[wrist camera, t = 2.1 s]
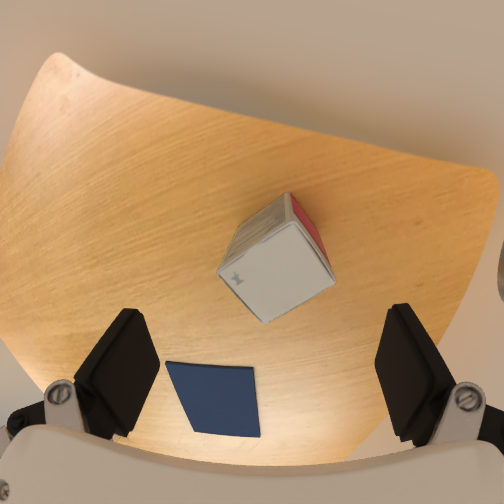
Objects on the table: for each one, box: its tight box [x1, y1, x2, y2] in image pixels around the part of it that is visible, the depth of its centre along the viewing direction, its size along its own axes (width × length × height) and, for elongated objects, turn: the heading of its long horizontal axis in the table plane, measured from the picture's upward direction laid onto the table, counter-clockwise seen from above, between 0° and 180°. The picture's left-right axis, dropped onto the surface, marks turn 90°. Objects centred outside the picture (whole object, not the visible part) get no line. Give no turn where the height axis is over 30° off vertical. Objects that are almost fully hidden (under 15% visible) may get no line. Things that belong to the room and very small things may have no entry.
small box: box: [217, 192, 336, 324], centre depth 18 cm, size 5×4×8 cm
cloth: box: [165, 361, 260, 438], centre depth 31 cm, size 10×16×1 cm, turn 4°
